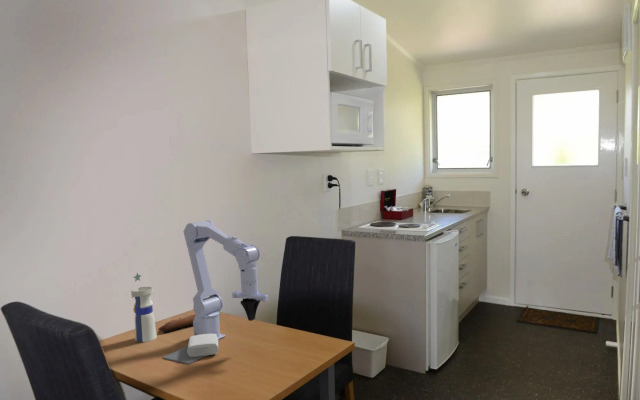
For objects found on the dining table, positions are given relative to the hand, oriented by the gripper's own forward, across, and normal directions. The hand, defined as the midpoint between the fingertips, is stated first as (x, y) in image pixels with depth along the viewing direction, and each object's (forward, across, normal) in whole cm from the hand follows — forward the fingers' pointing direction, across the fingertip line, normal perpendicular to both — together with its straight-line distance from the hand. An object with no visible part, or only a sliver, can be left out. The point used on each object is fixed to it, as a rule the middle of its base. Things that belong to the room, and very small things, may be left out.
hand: (251, 319), depth 163 cm
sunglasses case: (+11, -44, +9) cm, 46 cm away
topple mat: (+10, -18, -13) cm, 24 cm away
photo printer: (+8, -11, -13) cm, 19 cm away
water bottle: (+11, -46, -8) cm, 48 cm away
